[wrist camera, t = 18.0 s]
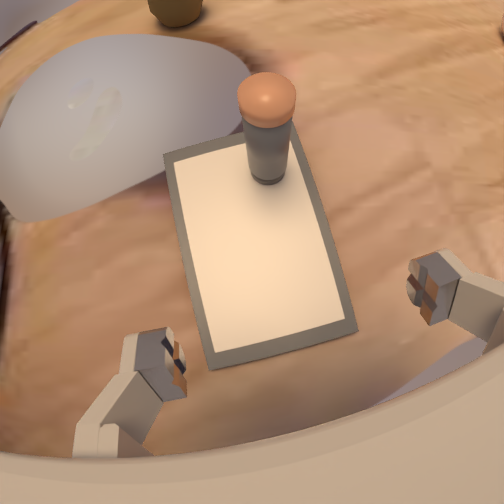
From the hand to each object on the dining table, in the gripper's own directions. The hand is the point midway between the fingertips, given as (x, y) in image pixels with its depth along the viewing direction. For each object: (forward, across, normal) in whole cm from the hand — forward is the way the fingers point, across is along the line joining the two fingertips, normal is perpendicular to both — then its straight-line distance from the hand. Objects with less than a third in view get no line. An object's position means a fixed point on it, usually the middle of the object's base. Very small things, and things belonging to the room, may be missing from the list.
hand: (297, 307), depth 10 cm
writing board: (+19, 0, +9) cm, 21 cm away
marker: (+22, -3, +4) cm, 23 cm away
